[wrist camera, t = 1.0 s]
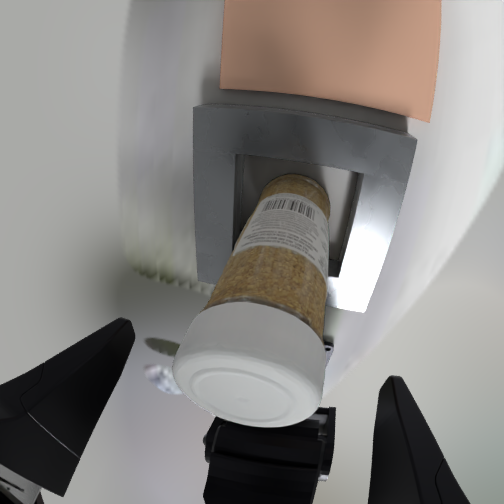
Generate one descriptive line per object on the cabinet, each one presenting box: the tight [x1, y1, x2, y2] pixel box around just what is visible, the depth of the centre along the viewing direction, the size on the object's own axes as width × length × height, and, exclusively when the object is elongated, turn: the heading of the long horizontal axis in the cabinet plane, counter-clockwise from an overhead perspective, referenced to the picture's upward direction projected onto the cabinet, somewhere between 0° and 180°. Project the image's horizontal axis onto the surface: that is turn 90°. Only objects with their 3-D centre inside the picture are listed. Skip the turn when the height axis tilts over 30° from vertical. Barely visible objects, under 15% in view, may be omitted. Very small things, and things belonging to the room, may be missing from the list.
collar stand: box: [193, 104, 417, 312], centre depth 18 cm, size 12×12×2 cm
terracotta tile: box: [220, 0, 441, 123], centre depth 11 cm, size 12×12×1 cm
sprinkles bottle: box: [172, 174, 330, 427], centre depth 13 cm, size 5×5×14 cm
